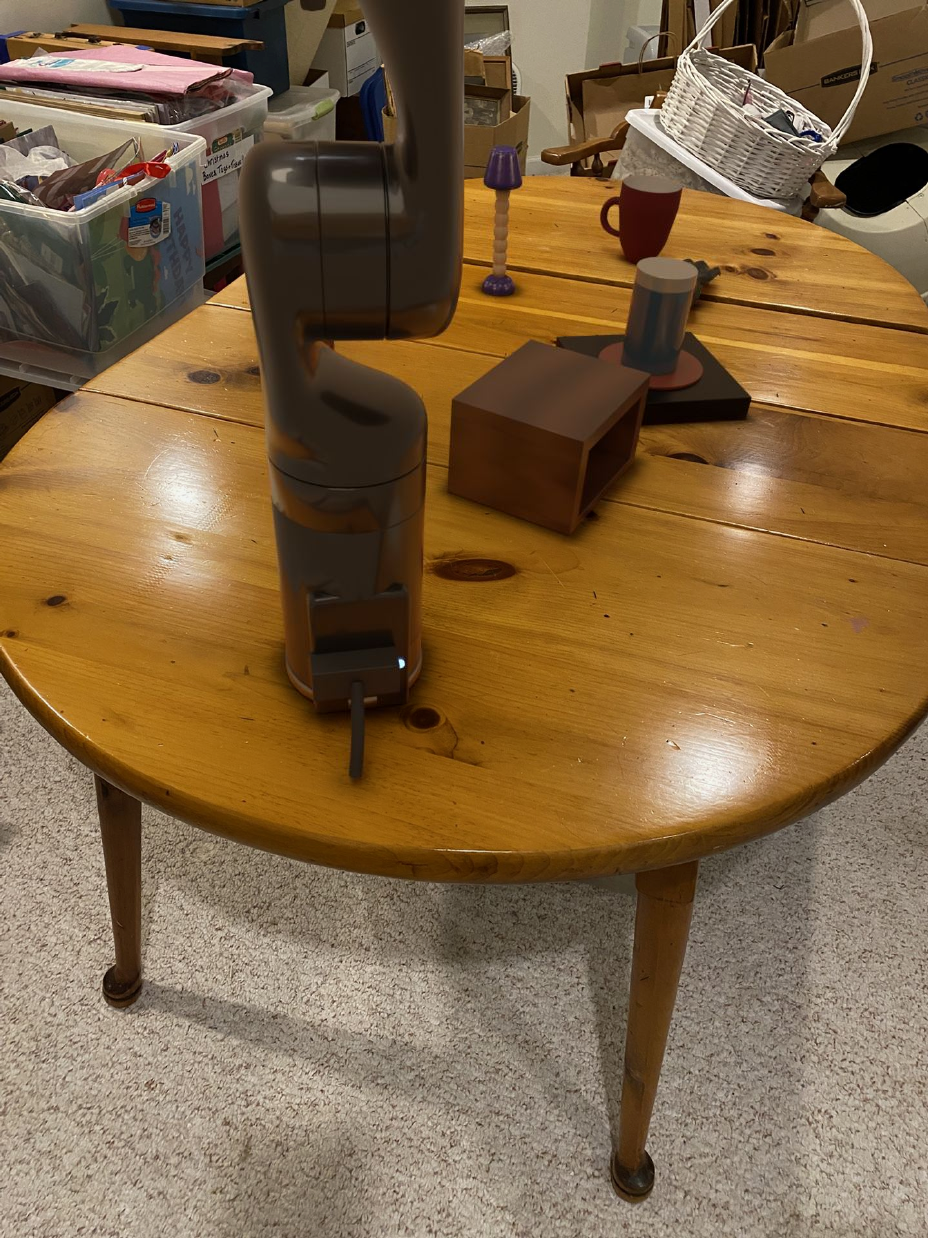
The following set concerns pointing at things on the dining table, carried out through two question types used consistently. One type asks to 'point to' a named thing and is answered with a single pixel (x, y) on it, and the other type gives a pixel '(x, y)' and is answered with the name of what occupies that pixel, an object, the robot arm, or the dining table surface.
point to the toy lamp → (501, 213)
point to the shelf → (546, 434)
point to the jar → (658, 314)
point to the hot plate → (676, 382)
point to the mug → (644, 215)
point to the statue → (702, 276)
